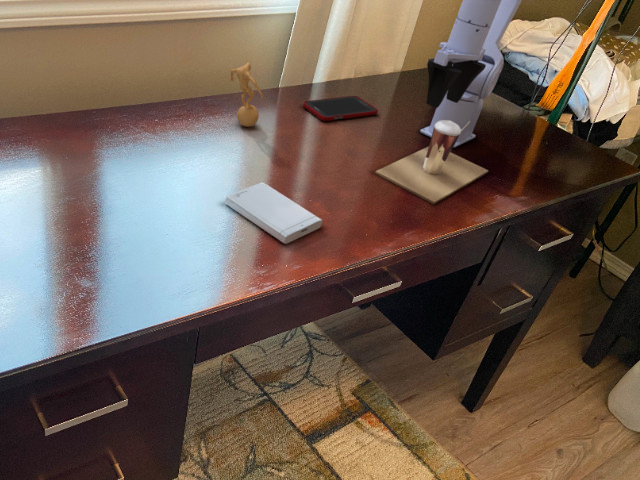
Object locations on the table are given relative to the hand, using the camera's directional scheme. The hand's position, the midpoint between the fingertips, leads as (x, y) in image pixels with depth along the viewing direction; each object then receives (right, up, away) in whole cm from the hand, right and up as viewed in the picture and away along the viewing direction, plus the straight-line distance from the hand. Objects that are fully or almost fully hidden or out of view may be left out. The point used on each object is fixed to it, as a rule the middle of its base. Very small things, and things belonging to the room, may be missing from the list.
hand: (442, 103), depth 108 cm
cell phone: (-15, +4, +18) cm, 24 cm away
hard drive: (-31, -22, -16) cm, 42 cm away
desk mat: (-1, -12, +2) cm, 12 cm away
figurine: (-35, -3, +6) cm, 36 cm away
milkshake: (-1, -12, +2) cm, 12 cm away
